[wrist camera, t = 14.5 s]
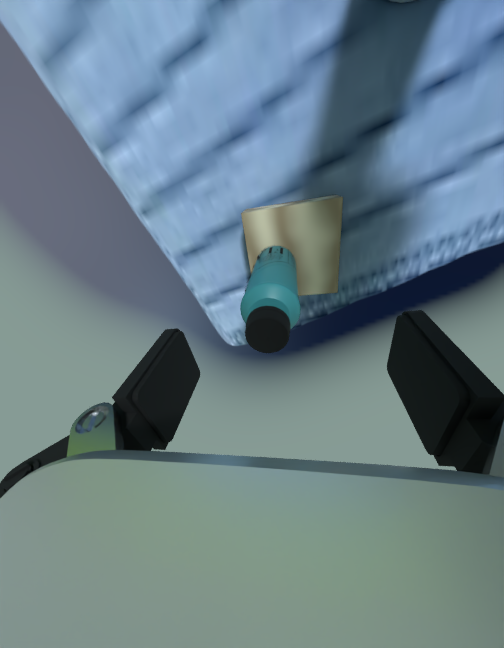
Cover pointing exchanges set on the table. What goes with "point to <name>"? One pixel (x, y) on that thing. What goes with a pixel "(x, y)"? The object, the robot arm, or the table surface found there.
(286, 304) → the beverage bottle
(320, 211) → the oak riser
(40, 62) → the table surface
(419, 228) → the table surface
